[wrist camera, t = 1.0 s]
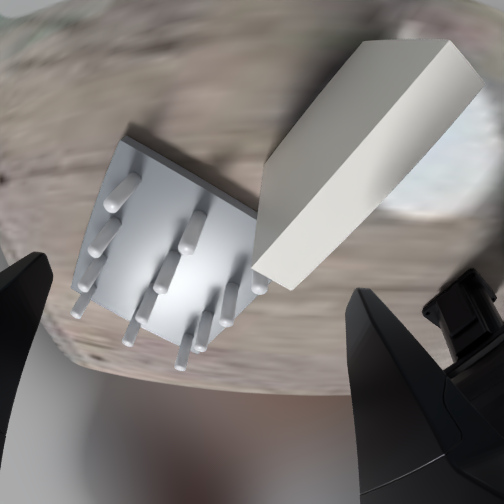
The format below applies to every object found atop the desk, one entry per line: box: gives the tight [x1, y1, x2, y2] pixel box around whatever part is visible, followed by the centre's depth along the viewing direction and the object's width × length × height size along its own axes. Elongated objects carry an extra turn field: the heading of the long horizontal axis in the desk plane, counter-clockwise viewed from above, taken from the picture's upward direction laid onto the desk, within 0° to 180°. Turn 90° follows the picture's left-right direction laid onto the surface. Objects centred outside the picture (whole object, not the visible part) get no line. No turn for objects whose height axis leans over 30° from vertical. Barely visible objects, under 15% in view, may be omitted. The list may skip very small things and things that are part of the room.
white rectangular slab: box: [251, 39, 485, 291], centre depth 13 cm, size 2×10×10 cm, turn 147°
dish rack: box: [71, 136, 272, 371], centre depth 23 cm, size 14×16×4 cm
